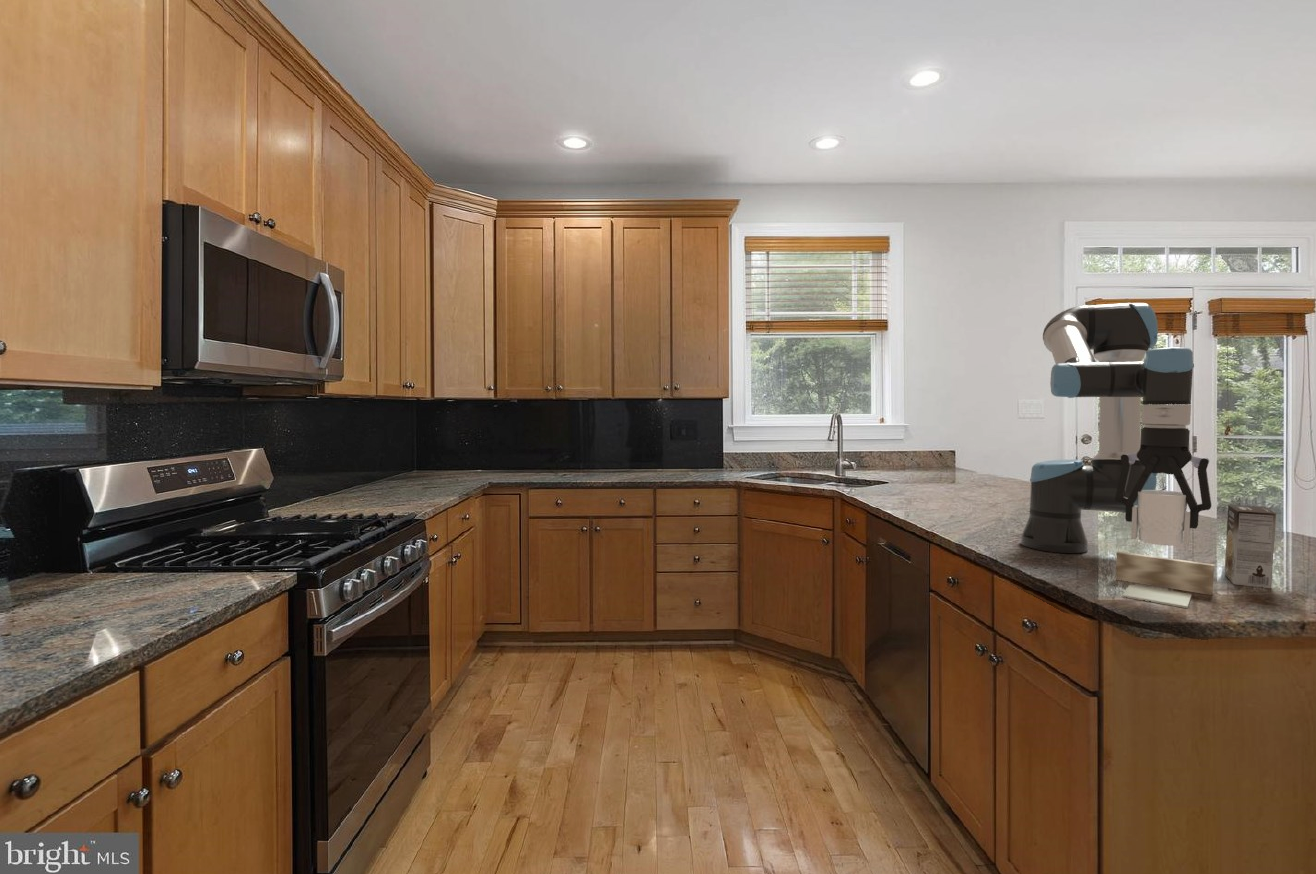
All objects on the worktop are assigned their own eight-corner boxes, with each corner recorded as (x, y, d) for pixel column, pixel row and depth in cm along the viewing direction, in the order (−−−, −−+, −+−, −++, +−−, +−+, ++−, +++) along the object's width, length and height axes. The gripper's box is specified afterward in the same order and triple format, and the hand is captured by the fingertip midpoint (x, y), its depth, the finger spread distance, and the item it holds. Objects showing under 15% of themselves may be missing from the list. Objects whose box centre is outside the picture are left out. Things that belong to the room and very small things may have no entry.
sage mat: (1122, 596, 126) (1122, 595, 126) (1129, 586, 133) (1129, 584, 133) (1187, 608, 119) (1187, 606, 119) (1191, 596, 127) (1191, 594, 127)
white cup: (1166, 548, 121) (1168, 496, 120) (1125, 539, 128) (1127, 490, 128) (1195, 545, 123) (1198, 494, 122) (1154, 536, 131) (1156, 489, 130)
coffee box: (1222, 574, 142) (1226, 504, 141) (1261, 578, 139) (1265, 506, 138) (1232, 584, 134) (1236, 510, 133) (1273, 589, 131) (1278, 513, 130)
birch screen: (1115, 579, 138) (1116, 552, 138) (1116, 578, 139) (1117, 551, 139) (1212, 595, 127) (1213, 565, 127) (1212, 593, 128) (1214, 564, 128)
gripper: (1099, 425, 129) (1094, 536, 130) (1234, 428, 115) (1227, 552, 116) (1105, 424, 134) (1101, 531, 135) (1235, 427, 120) (1229, 546, 121)
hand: (1159, 541), depth 126 cm, fingers closed on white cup, 7 cm apart
